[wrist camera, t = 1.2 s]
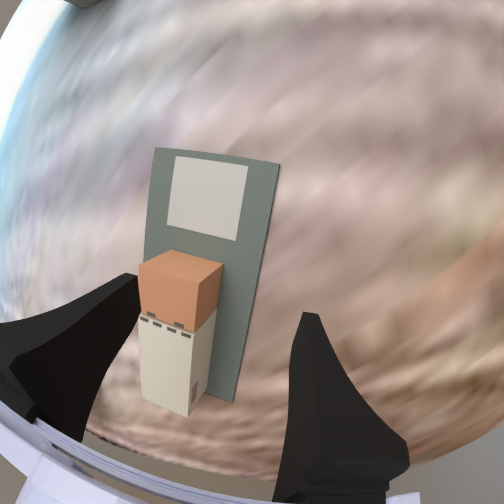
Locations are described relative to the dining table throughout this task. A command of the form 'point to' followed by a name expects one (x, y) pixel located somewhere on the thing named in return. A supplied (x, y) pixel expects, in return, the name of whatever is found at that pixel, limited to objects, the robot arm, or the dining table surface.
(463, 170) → the dining table surface
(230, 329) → the mat
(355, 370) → the dining table surface
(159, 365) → the cream rectangular block
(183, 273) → the stub
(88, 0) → the coffee mug
